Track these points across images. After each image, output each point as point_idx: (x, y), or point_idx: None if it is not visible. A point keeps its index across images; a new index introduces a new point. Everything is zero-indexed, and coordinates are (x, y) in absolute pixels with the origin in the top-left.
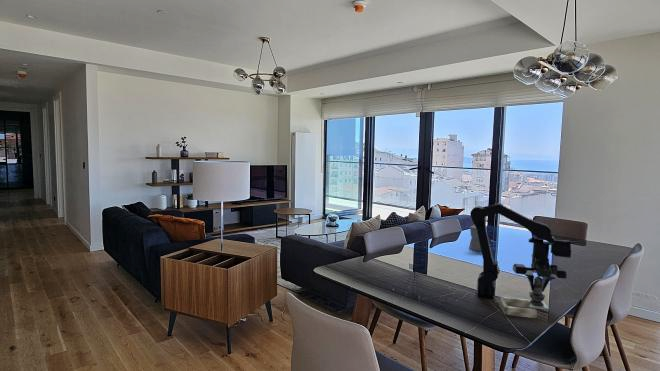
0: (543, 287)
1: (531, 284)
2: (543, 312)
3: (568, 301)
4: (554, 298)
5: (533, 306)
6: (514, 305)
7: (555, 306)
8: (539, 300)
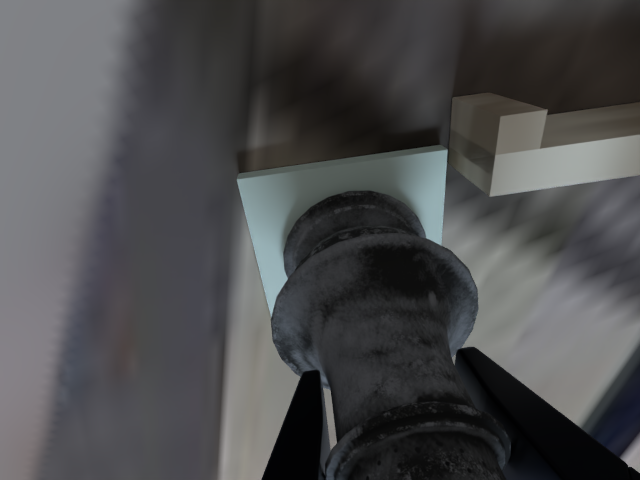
0: (314, 444)
1: (590, 445)
2: (308, 43)
3: (77, 436)
4: (180, 443)
5: (404, 157)
6: (616, 108)
7: (169, 297)
8: (348, 228)
